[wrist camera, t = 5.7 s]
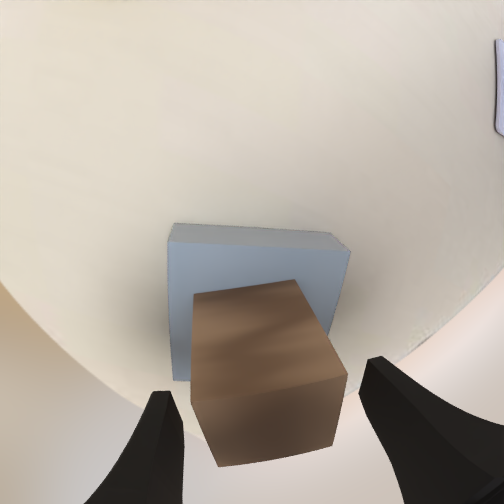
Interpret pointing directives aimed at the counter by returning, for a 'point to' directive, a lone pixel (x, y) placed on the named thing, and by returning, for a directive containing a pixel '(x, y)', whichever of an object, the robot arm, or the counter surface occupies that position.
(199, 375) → the walnut block
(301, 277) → the blue-gray block
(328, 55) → the counter surface
